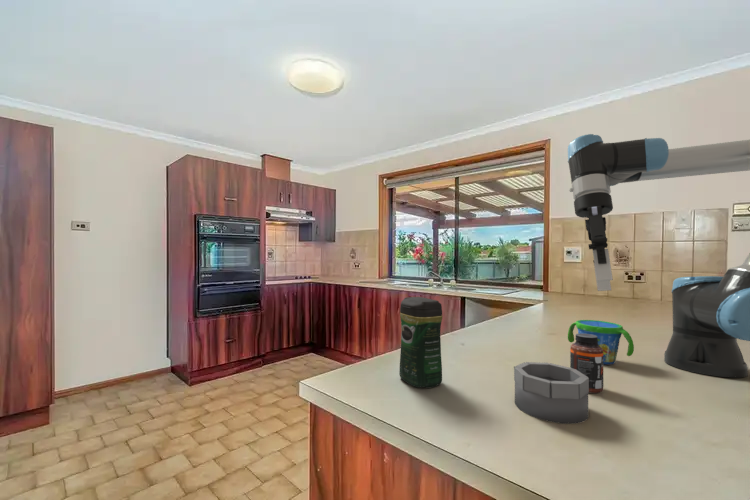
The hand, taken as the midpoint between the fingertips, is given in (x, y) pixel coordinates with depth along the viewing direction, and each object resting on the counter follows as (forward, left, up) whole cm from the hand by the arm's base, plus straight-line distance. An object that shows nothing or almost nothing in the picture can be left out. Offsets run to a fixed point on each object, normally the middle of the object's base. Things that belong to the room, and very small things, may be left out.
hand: (604, 285), depth 74 cm
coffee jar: (+40, +2, -22) cm, 46 cm away
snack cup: (-9, -17, -22) cm, 29 cm away
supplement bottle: (+5, +3, -22) cm, 23 cm away
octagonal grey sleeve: (+17, +13, -22) cm, 31 cm away
